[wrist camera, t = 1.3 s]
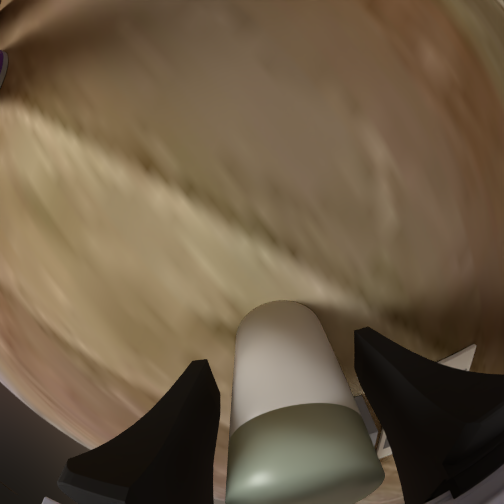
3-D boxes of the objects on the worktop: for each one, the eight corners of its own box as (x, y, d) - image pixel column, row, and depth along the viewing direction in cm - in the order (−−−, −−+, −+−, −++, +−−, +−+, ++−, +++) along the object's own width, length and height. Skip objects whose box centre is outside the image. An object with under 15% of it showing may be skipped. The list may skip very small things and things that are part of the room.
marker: (318, 292, 11) (397, 444, 4) (324, 362, 13) (373, 501, 5) (226, 309, 12) (202, 480, 4) (246, 377, 13) (245, 524, 5)
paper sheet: (474, 343, 13) (476, 346, 12) (443, 427, 15) (444, 430, 15) (391, 381, 13) (393, 384, 13) (374, 457, 16) (375, 460, 15)
